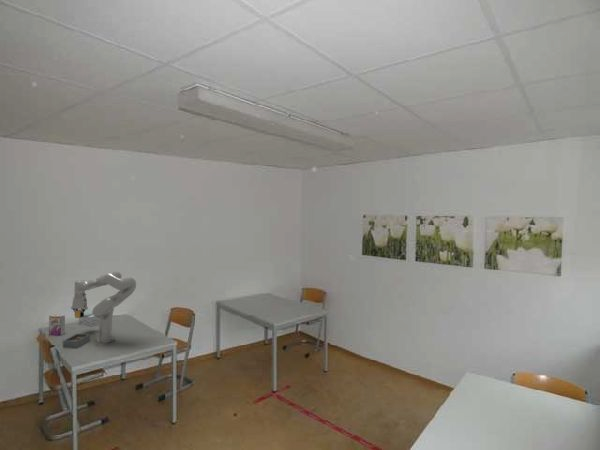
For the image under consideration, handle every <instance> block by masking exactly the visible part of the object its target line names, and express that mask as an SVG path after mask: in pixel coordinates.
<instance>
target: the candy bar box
mask: <svg viewBox="0 0 600 450" xmlns="http://www.w3.org/2000/svg"><path fill="white" fill-rule="evenodd" d="M65 323H66V315H63V314H51V315H49V316H48V335H50V336H63V335H65V334H66V330H65V329H66V327H65V326H66V325H65Z"/></svg>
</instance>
